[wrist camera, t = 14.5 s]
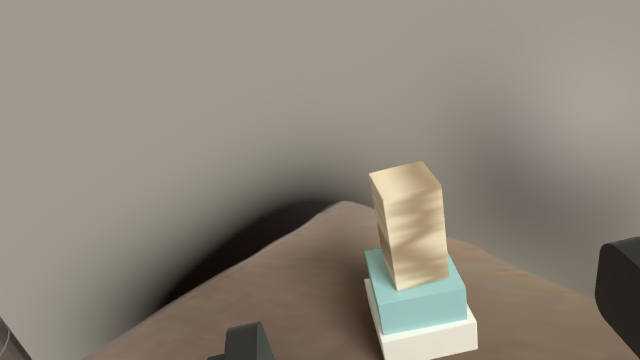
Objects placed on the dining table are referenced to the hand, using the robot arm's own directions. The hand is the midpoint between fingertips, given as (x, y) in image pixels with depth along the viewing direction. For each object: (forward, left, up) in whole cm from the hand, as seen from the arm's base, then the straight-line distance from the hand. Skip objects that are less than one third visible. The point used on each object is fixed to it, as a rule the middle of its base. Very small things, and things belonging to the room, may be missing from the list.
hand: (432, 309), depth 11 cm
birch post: (-20, +18, -22) cm, 35 cm away
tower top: (-21, +18, -26) cm, 38 cm away
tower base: (-21, +18, -30) cm, 41 cm away
